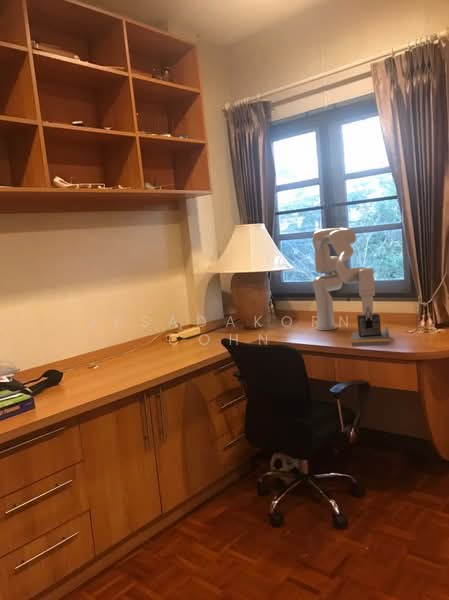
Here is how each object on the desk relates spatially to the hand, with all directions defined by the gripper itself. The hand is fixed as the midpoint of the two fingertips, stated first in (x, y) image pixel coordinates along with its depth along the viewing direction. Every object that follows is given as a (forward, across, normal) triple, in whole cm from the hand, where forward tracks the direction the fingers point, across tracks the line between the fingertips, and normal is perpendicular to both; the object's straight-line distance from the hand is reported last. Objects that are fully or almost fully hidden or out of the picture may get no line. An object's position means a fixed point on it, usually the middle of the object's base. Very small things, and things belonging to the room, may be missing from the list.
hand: (369, 326), depth 245 cm
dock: (+8, 0, 0) cm, 8 cm away
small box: (+5, 0, 0) cm, 5 cm away
